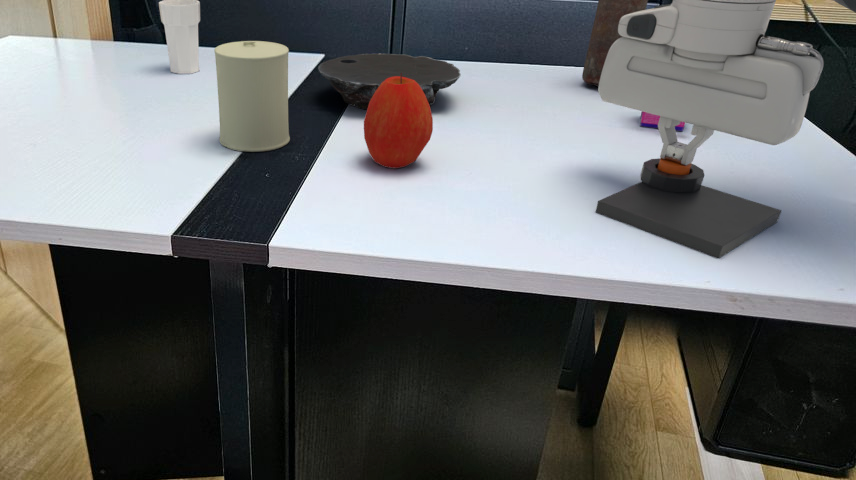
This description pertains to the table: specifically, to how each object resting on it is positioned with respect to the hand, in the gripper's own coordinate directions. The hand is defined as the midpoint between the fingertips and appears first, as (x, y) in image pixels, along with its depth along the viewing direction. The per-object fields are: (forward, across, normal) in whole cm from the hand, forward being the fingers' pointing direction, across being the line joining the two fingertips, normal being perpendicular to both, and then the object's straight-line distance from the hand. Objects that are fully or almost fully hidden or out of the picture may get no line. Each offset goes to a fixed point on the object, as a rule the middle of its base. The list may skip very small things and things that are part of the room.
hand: (675, 161), depth 78 cm
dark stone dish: (+4, +46, 0) cm, 46 cm away
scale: (+4, -4, +4) cm, 7 cm away
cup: (+4, +80, +16) cm, 81 cm away
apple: (+4, +26, +18) cm, 31 cm away
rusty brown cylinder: (+4, +30, -34) cm, 46 cm away
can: (+4, +42, +26) cm, 50 cm away
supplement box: (+4, +14, -24) cm, 27 cm away
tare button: (+2, 0, 0) cm, 2 cm away
